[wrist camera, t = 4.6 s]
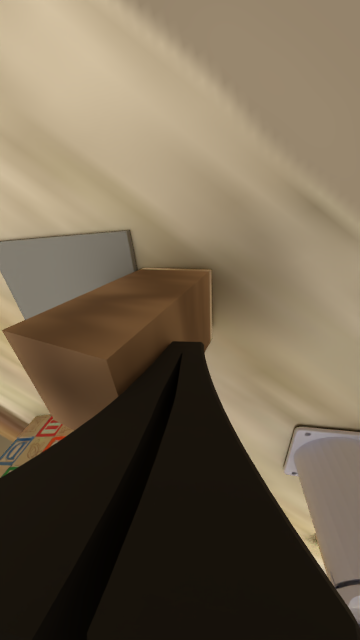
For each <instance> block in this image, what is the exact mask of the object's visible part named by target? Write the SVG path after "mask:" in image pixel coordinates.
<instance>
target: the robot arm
mask: <svg viewBox="0 0 360 640" xmlns="http://www.w3.org/2000/svg"><path fill="white" fill-rule="evenodd" d="M283 469H284V473H285V474H287V475H293V476H299V479H300V482H301V486H302V489H303V492H304V495H305V499H306V502H307V505H308V509H309V512H310V515H311V518H312V522H313V525H314V528H315V531H316V535H317V538H318V541H319V545H320V548H321V551H322V554H323V558H324V561H325V564H326V567H327V571H328V574H329V577H330V580H329V578H328V577H327V576H326V574H325V573H324V571H323V570H322V568H321V567H320V565H319V564H318V563H317V561H316V560H315V558H314V557H313V555H312V554H311V552H310V551H309V549H308V548H307V546H306V545H305V543H304V542H303V540H302V539H301V537H300V536H299V535H298V533H297V532H296V530H295V529H294V527H293V526H292V524H291V523H290V521H289V519H288V518H287V516H286V515H285V513H284V512H283V510H282V509H281V507H280V506H279V504H278V503H277V501H276V499H275V498H274V496H273V495H272V493H271V492H270V490H269V489H268V487H267V485H266V484H265V482H264V480H263V479H262V477H261V475H260V474H259V472H258V470H257V469H256V467H255V465H254V464H253V462H252V460H251V459H250V457H249V455H248V454H247V452H246V450H245V449H244V447H243V445H242V443H241V441H240V440H239V438H238V436H237V434H236V432H235V430H234V428H233V427H232V425H231V423H230V421H229V419H228V417H227V415H226V413H225V410H224V408H223V406H222V404H221V402H220V399H219V397H218V395H217V392H216V390H215V387H214V385H213V382H212V379H211V376H210V373H209V370H208V367H207V364H206V359H205V354H204V344H203V343H202V342H185V341H173V342H171V343H170V345H169V346H168V347H167V348H166V349H165V350H164V351H163V352H162V354H161V355H160V356H159V357H158V358H157V359H156V360H155V361H154V362H153V363H152V365H151V366H150V367H149V368H148V369H147V370H146V371H145V372H144V373H143V374H142V375H141V376H140V377H139V378H138V379H137V380H136V381H135V382H134V383H133V384H131V385H130V386H129V387H128V388H127V389H126V390H125V391H124V392H123V393H122V394H121V395H120V396H118V397H117V398H116V399H115V400H114V401H113V402H111V403H110V404H109V405H108V406H106V407H105V408H104V409H103V410H102V411H100V412H99V413H98V414H96V415H95V416H94V417H92V418H91V419H90V420H88V421H87V422H85V423H84V424H83V425H81V426H80V427H78V428H77V429H76V430H74V431H73V432H71V433H70V434H69V435H67V436H66V437H64V438H63V439H62V440H60V441H59V442H57V443H56V444H54V445H52V446H51V447H49V448H48V449H46V450H45V451H43V452H42V453H40V454H39V455H37V456H35V457H34V458H32V459H31V460H29V461H27V462H26V463H24V464H23V465H21V466H19V467H18V468H16V469H14V470H13V471H11V472H9V473H8V474H6V475H4V476H3V477H1V478H0V640H360V432H353V431H342V430H331V429H320V428H309V427H297V428H296V429H295V431H294V434H293V438H292V441H291V444H290V448H289V451H288V455H287V458H286V462H285V465H284V468H283Z"/></svg>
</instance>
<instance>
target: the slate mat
mask: <svg viewBox="0 0 360 640" xmlns="http://www.w3.org/2000/svg"><path fill="white" fill-rule="evenodd" d="M0 271H1V273H2V275H3V277H4V279H5V281H6V283H7V285H8V287H9V289H10V291H11V293H12V295H13V297H14V299H15V301H16V303H17V305H18V307H19V309H20V311H21V313H22V315H23V317H24V319H25V320H26V319H29V318H31V317H33V316H35V315H38V314H40V313H42V312H45V311H47V310H49V309H51V308H54V307H56V306H58V305H60V304H63V303H65V302H67V301H69V300H72V299H74V298H76V297H78V296H81V295H83V294H85V293H88V292H90V291H92V290H94V289H97V288H99V287H101V286H103V285H106V284H108V283H110V282H112V281H115V280H117V279H119V278H122V277H124V276H126V275H128V274H131V273H133V272H135V271H137V267H136V261H135V256H134V251H133V245H132V240H131V234H130V230H125V231H114V232H102V233H91V234H79V235H68V236H56V237H45V238H33V239H22V240H10V241H0Z"/></svg>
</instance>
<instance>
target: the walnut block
mask: <svg viewBox="0 0 360 640" xmlns="http://www.w3.org/2000/svg"><path fill="white" fill-rule="evenodd" d="M2 331H3V333H4V335H5V336H6V338H7V340H8V342H9V343H10V345H11V347H12V348H13V350H14V352H15V353H16V355H17V357H18V359H19V360H20V362H21V364H22V365H23V367H24V369H25V371H26V372H27V374H28V376H29V377H30V379H31V381H32V383H33V384H34V386H35V388H36V389H37V391H38V393H39V395H40V396H41V398H42V400H43V401H44V403H45V405H46V407H47V408H48V410H49V412H50V413H51V415H52V417H53V419H54V420H55V421H57V422H59V423H61V424H63V425H64V426H66V427H68V428H70V429H72V430H76V429H77V428H78V427H80V426H81V425H83V424H84V423H85V422H87V421H88V420H90V419H91V418H92V417H94V416H95V415H96V414H98V413H99V412H100V411H102V410H103V409H104V408H105V407H106V406H108V405H109V404H110V403H111V402H113V401H114V400H115V399H116V398H117V397H118V396H120V395H121V394H122V393H123V392H124V391H125V390H126V389H127V388H128V387H129V386H130V385H131V384H133V383H134V382H135V381H136V380H137V379H138V378H139V377H140V376H141V375H142V374H143V373H144V372H145V371H146V370H147V369H148V368H149V367H150V366H151V365H152V363H153V362H154V361H155V360H156V359H157V358H158V357H159V356H160V355H161V354H162V352H163V351H164V350H165V349H166V348H167V347H168V346H169V345H170V343H171V342H173V341H185V342H202V343H203V344H204V352H205V350H206V349H207V347H208V345H209V343H210V341H211V340H212V270H208V269H171V268H142V269H140V270H137V271H135V272H133V273H131V274H128V275H126V276H124V277H122V278H119V279H117V280H115V281H112V282H110V283H108V284H106V285H103V286H101V287H99V288H97V289H94V290H92V291H90V292H88V293H85V294H83V295H81V296H78V297H76V298H74V299H72V300H69V301H67V302H65V303H63V304H60V305H58V306H56V307H54V308H51V309H49V310H47V311H45V312H42V313H40V314H38V315H35V316H33V317H31V318H29V319H26V320H24V321H22V322H20V323H17V324H15V325H13V326H11V327H8V328H6V329H4V330H2Z"/></svg>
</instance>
